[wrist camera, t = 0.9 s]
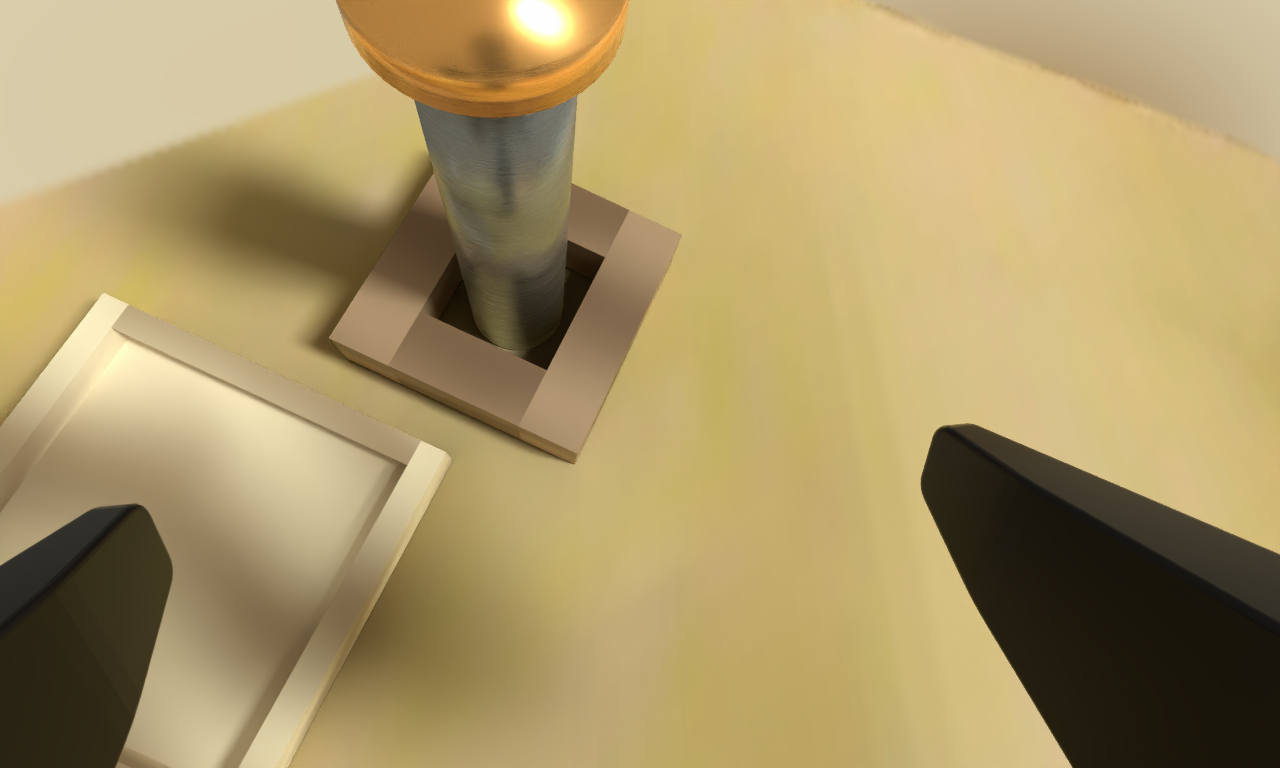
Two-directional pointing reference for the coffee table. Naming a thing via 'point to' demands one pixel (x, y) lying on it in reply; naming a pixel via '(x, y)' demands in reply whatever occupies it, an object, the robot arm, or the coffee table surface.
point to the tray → (219, 523)
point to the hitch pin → (497, 133)
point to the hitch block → (484, 374)
